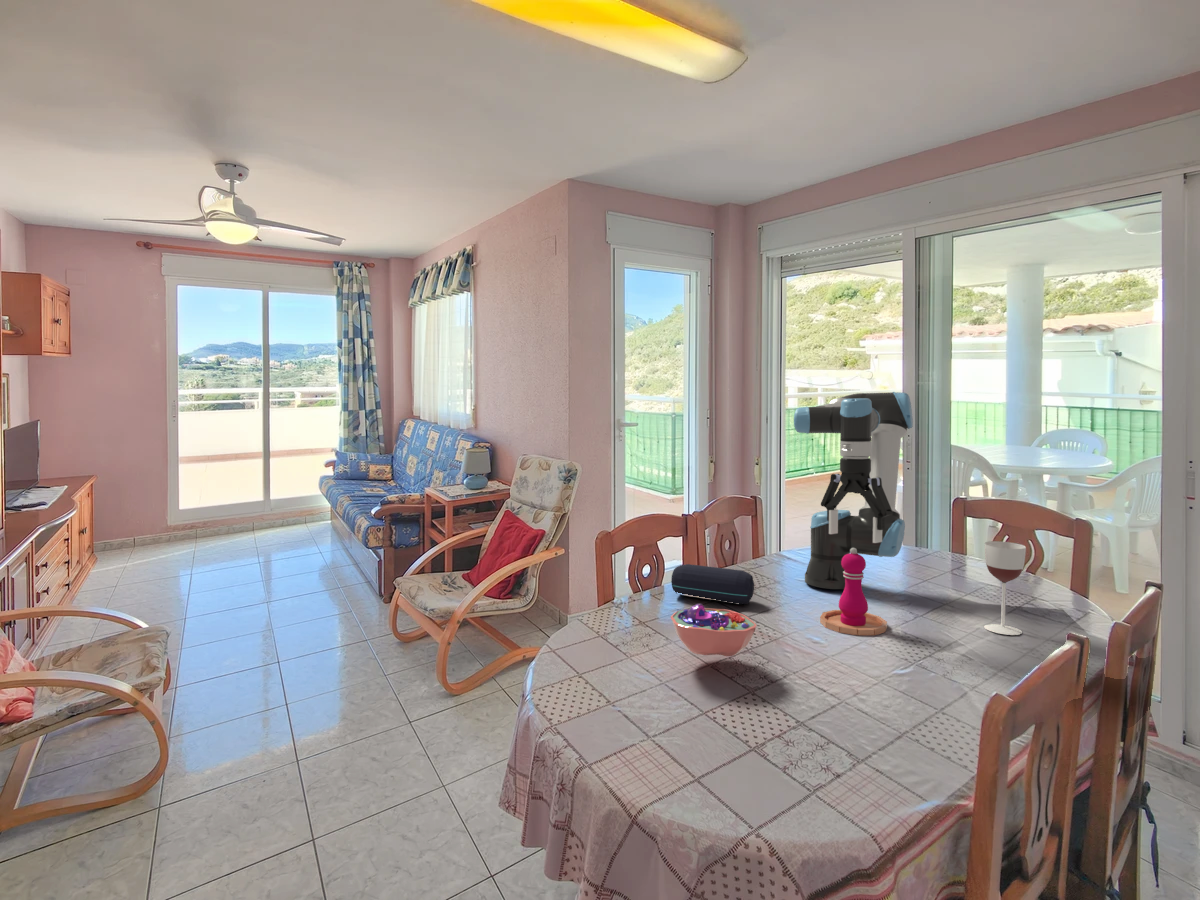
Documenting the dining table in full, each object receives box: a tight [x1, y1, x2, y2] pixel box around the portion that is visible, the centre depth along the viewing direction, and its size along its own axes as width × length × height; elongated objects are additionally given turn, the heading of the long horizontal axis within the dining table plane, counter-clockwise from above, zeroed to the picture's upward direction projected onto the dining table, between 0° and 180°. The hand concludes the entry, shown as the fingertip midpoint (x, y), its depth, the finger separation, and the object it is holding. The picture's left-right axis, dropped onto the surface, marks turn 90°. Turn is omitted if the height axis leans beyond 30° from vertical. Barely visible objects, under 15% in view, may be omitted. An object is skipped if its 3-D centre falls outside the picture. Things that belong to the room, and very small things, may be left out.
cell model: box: [670, 603, 758, 658], centre depth 144 cm, size 17×20×11 cm
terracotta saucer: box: [819, 609, 888, 636], centre depth 164 cm, size 16×16×2 cm
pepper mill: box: [838, 548, 869, 626], centre depth 163 cm, size 7×7×20 cm
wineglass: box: [983, 541, 1027, 636], centre depth 159 cm, size 9×10×22 cm
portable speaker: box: [670, 563, 755, 605], centre depth 187 cm, size 25×10×10 cm, turn 60°
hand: (854, 537), depth 163 cm, fingers open, 13 cm apart
